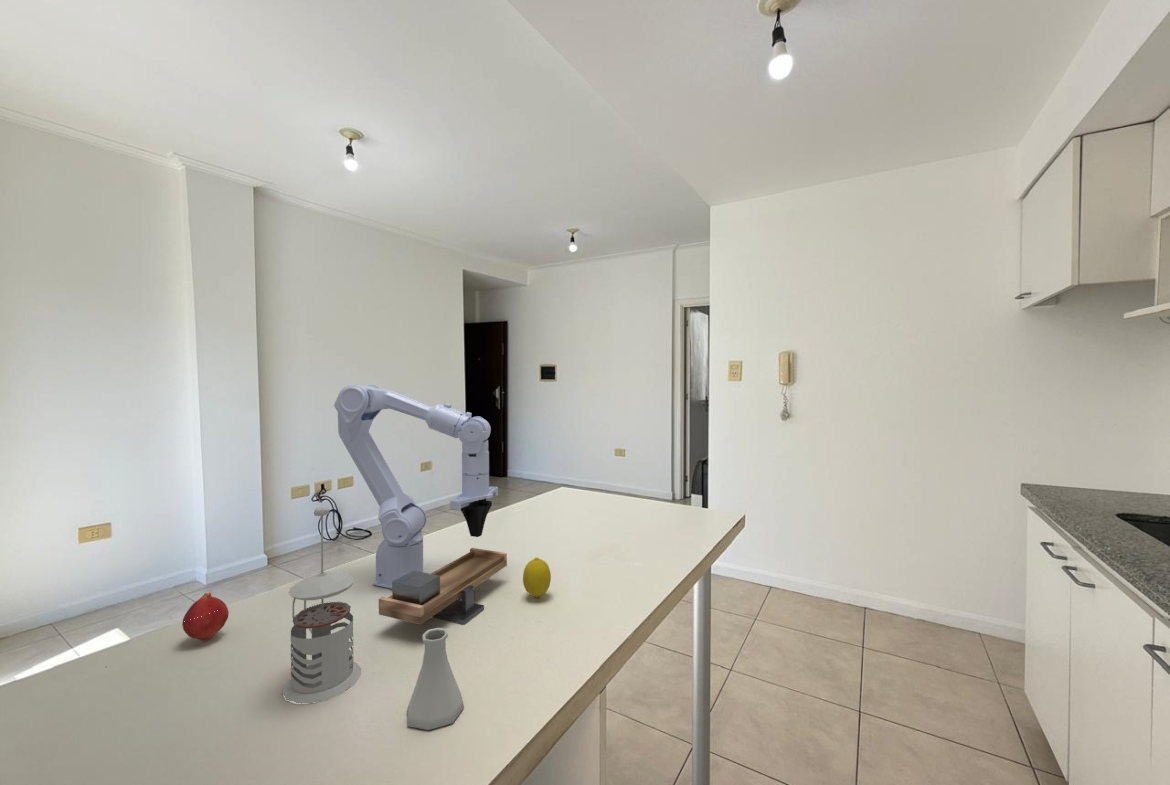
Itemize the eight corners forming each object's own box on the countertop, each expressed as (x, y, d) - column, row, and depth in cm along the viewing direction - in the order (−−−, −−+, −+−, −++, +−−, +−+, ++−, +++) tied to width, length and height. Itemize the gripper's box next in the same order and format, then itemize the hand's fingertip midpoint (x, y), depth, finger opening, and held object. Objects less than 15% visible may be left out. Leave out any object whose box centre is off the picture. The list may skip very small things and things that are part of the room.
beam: (377, 617, 77) (377, 598, 77) (471, 562, 101) (471, 547, 101) (421, 628, 73) (421, 608, 73) (507, 568, 97) (507, 553, 97)
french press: (304, 714, 58) (302, 519, 57) (262, 684, 64) (260, 507, 64) (375, 673, 66) (374, 503, 66) (332, 649, 72) (330, 493, 72)
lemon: (546, 605, 87) (546, 563, 87) (519, 602, 88) (518, 561, 88) (554, 592, 92) (553, 553, 92) (528, 590, 93) (528, 551, 93)
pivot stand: (403, 610, 85) (402, 584, 85) (425, 597, 90) (425, 572, 90) (464, 624, 80) (463, 596, 80) (484, 609, 85) (483, 583, 85)
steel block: (392, 604, 77) (392, 581, 77) (413, 592, 82) (413, 570, 82) (419, 611, 75) (419, 587, 75) (440, 597, 80) (439, 575, 80)
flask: (414, 694, 61) (414, 621, 61) (468, 690, 62) (468, 618, 62) (397, 734, 54) (396, 651, 54) (458, 730, 55) (458, 648, 55)
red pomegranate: (177, 654, 71) (177, 603, 71) (189, 636, 76) (188, 589, 76) (223, 644, 74) (223, 595, 74) (232, 627, 79) (231, 582, 79)
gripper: (470, 480, 89) (470, 548, 89) (509, 468, 103) (509, 528, 103) (441, 478, 92) (442, 544, 92) (483, 466, 106) (483, 524, 106)
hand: (475, 535), depth 98 cm, fingers closed
